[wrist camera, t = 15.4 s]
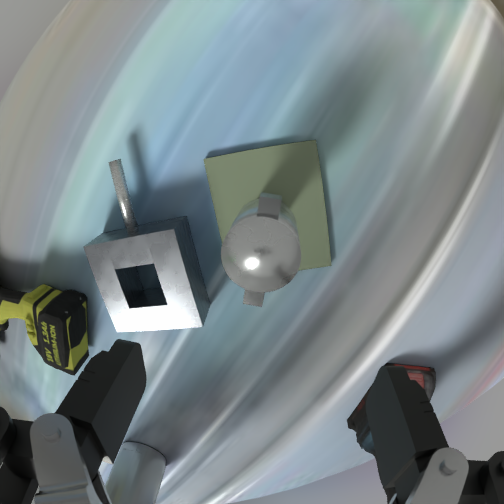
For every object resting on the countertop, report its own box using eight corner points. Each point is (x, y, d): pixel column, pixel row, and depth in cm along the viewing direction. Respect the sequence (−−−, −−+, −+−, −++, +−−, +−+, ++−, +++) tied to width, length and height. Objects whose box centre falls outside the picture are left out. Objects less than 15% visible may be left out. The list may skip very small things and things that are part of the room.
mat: (330, 263, 30) (331, 265, 30) (231, 276, 32) (230, 279, 31) (314, 139, 26) (315, 140, 25) (205, 158, 27) (203, 159, 27)
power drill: (456, 335, 33) (541, 488, 10) (378, 439, 42) (401, 567, 18) (405, 326, 33) (488, 516, 9) (332, 437, 41) (343, 578, 18)
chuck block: (210, 305, 33) (202, 326, 29) (131, 312, 34) (117, 331, 31) (170, 145, 27) (154, 148, 23) (85, 171, 28) (63, 178, 25)
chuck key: (300, 178, 27) (312, 206, 16) (287, 249, 29) (288, 313, 19) (249, 169, 27) (228, 191, 17) (238, 241, 29) (215, 300, 19)
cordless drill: (93, 408, 43) (-8, 347, 42) (96, 294, 35) (-24, 231, 33) (77, 436, 37) (-28, 366, 35) (67, 323, 28) (-54, 247, 27)
